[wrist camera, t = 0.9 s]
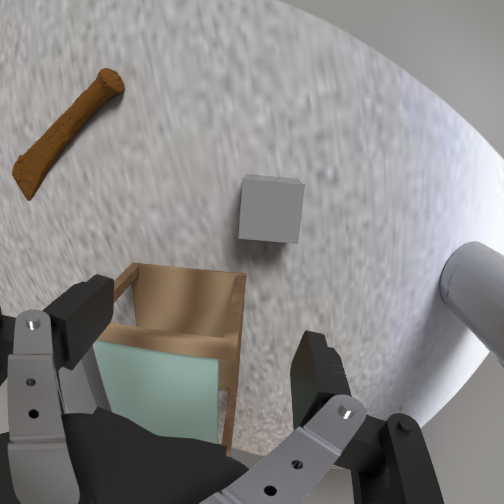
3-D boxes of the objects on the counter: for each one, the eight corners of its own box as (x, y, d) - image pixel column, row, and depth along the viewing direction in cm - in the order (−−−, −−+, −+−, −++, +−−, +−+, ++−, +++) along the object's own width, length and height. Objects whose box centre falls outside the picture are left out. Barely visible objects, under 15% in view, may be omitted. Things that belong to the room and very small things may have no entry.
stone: (297, 178, 29) (304, 184, 24) (292, 228, 30) (297, 243, 26) (245, 174, 29) (242, 178, 24) (242, 224, 31) (238, 238, 26)
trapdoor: (221, 341, 23) (215, 366, 20) (218, 443, 27) (215, 465, 24) (57, 314, 23) (39, 331, 20) (90, 416, 27) (80, 434, 24)
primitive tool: (30, 201, 31) (13, 207, 27) (12, 170, 29) (-6, 174, 26) (133, 90, 27) (119, 84, 23) (109, 57, 25) (94, 50, 22)
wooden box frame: (246, 273, 32) (236, 349, 20) (237, 388, 38) (229, 469, 25) (132, 262, 32) (73, 323, 20) (145, 375, 38) (113, 447, 25)
